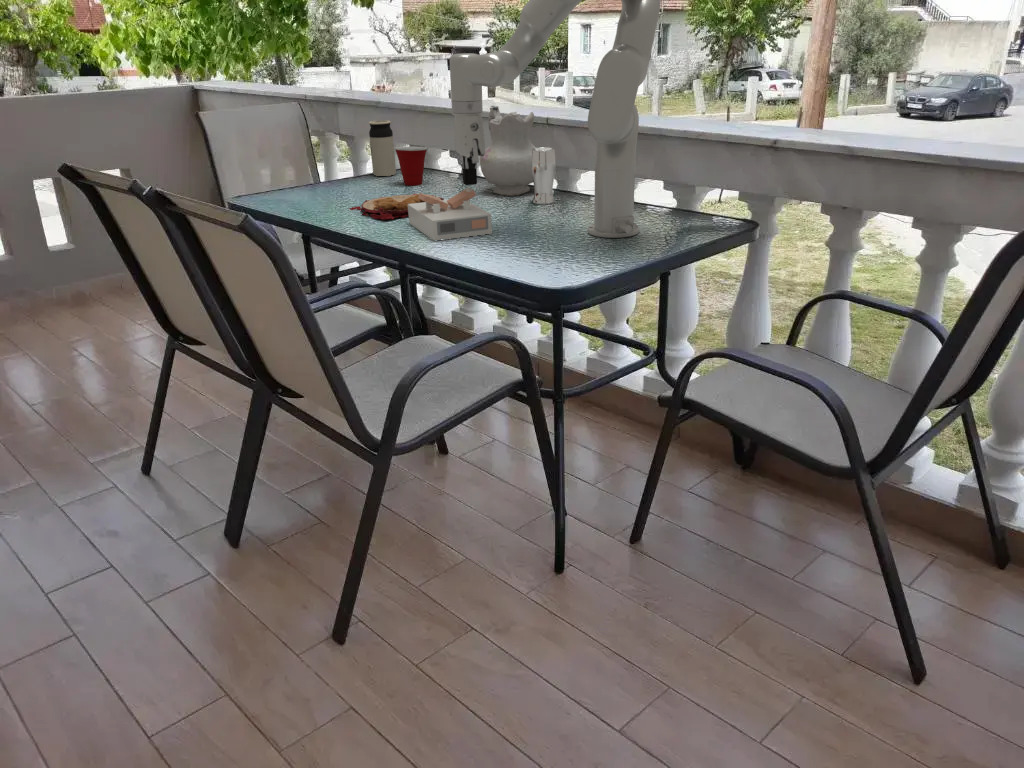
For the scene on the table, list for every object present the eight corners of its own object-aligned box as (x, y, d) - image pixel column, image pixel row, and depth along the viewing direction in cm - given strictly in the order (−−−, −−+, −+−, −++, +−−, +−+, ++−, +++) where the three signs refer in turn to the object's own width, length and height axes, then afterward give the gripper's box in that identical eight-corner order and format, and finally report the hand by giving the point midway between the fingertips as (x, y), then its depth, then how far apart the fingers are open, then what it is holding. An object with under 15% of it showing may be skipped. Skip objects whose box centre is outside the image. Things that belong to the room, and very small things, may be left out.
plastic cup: (436, 182, 262) (434, 145, 257) (416, 188, 254) (413, 149, 249) (411, 180, 268) (408, 143, 263) (390, 185, 259) (387, 147, 254)
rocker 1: (446, 212, 198) (449, 204, 198) (423, 203, 195) (425, 195, 194) (440, 207, 203) (442, 200, 202) (416, 199, 199) (419, 191, 199)
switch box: (492, 234, 196) (491, 205, 193) (434, 241, 191) (432, 211, 188) (462, 216, 215) (461, 189, 212) (409, 223, 209) (406, 195, 206)
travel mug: (398, 173, 281) (394, 120, 273) (392, 177, 274) (387, 122, 266) (377, 173, 282) (371, 120, 275) (370, 177, 275) (365, 123, 267)
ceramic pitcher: (464, 194, 248) (455, 112, 236) (508, 180, 259) (502, 101, 248) (513, 204, 234) (506, 116, 222) (557, 188, 245) (553, 104, 234)
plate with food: (463, 209, 227) (462, 197, 225) (383, 223, 211) (382, 209, 210) (415, 199, 244) (414, 187, 243) (339, 210, 229) (337, 198, 227)
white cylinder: (556, 199, 232) (555, 146, 225) (554, 204, 225) (554, 150, 219) (532, 199, 232) (531, 147, 226) (530, 204, 226) (529, 150, 220)
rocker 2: (477, 197, 200) (474, 190, 199) (456, 210, 199) (452, 204, 198) (470, 193, 204) (467, 186, 203) (449, 206, 203) (445, 200, 202)
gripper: (492, 110, 188) (494, 188, 196) (471, 104, 200) (473, 178, 208) (462, 111, 185) (466, 190, 193) (442, 106, 198) (446, 180, 206)
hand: (470, 184), depth 201 cm, fingers closed
